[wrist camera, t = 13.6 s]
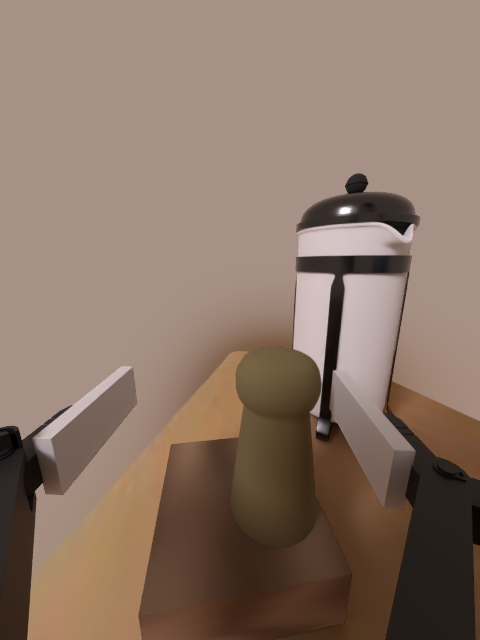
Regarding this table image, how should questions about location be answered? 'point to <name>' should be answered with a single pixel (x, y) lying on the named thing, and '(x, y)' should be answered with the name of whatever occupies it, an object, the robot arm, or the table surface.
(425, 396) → the table surface
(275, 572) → the walnut base
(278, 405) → the olive pawn
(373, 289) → the coffee press
